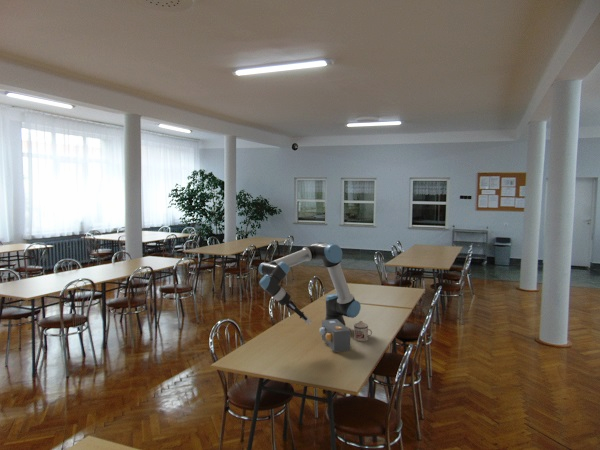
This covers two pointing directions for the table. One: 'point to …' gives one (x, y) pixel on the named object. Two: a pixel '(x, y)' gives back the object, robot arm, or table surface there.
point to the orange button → (329, 337)
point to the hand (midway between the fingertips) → (309, 322)
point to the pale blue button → (322, 331)
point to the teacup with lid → (361, 331)
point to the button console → (337, 335)
